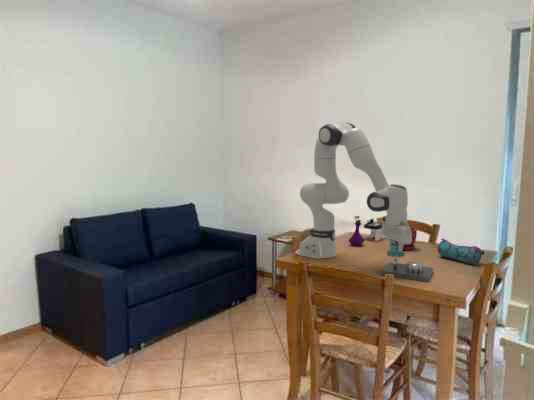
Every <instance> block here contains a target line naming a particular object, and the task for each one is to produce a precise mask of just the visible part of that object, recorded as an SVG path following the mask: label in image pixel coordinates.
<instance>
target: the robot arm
mask: <svg viewBox="0 0 534 400" xmlns="http://www.w3.org/2000/svg"><path fill="white" fill-rule="evenodd" d="M315 142H316V143H315V147H314V157H313V161H314V163H313V165H314V166H313V171H314V173H315V174H316V175H317V176H318V177H320V178H323V179H324V180H325V182H324V183H320V182H319V183H318V182H315V183H307V184H303V185H302V186H301V187H300V191H299V196H300V199H301V201H302V203H304V204H306V206H307V207H309V209H310V211H311V213H312V219H313V222H312V223H313V227H312V228H311V229H310V230H309V232H308V233H309V234H310V235H308V236H307V237H306V238H304V239H303V240H302V241H301V242H300V243H299V244H300V245H299V249H297V250H295V253H294V254H295V255H296V254H297V256H301V257H307V258H310V259H311V258H312V259H317V260H319V259H330V258H335V257H337V255H338V254H337V251H336V243H335V239H336V229H335V215H334V213H333V212H331V211H330V210H328V209H326V208H324V207H323V206H324V205H325V204H326V205H332V204H333V205H337V204H342V203H345V202H347V201H348V199H349V196H350V192H349V188H348V186H347V185H346V184H345V183H343V182H342V181H341V179H340V178H339V176H338V174H337V173H338V172H337V169H336V168H337V167H336V166H337V165H336V162H337V160H336V157H337V155H336V154H337V148H338V146H343V147H345V149H346V152H347V155H348V158H349V160H350V162H351V164H352V165H353V167H354V168H355V169H358V170H360V171H362V172H363V173H365V174H366V175H367V176H368V178H369V179H370V180H371V183H372V185H373V187H374V190H375V191H373V192H371V193H370V194H369V195H368V196H367V198H366V206H367V207H368V208H369V210H371V211H372V212H377V213H379V212H386V215H385V216H381V222H382V231H381V235H382V236H383V237H385V238H388V243H389V245H390V244H392V243H395V242H394V240H395V241H397V242H398V244H399V246H398V247H397V251H399V252H402V251H403V250H402V248H403V246H404V244H411V242H412V232H411V228H412V227H411V226H410V225H409V223H408V211H407V210H408V209H407V208H408V203H409V201H408V200H409V199H408V198H409V197H408V196H409V195H408V190H407V187H406V186H403V185H400V184H394V183H393V184H388V181H387V180H386V178H385V175H384V174H383V171H382V169H381V167H380V165H379V164H378V162H377V159H376V156H375V155H374V154H375V153H374V151H373V149H372V146H371V144H370V142H369V140H368V137H367V135H366V134H365V133H364V131H363V130H362V129H361V128H360V127H356V126H355V125H354V124H353V123H350V122H335V123H334V122H333V123H328V124H325V125H323V126H321V127H320V129H319V131H318V138H317V139H316V141H315ZM410 227H411V228H410Z"/></svg>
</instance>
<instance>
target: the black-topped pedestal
mask: <svg viewBox="0 0 534 400" xmlns="http://www.w3.org/2000/svg"><path fill="white" fill-rule="evenodd" d="M363 229H368V230H370V235H369V236H370V237H369V239H370V240H371V239H374V241H375V242H377V241H380V240H382V223H381V222H377V221H376V220H374V217H373V218H369V219H368V220H367V222H366V223H365V224H364V225H363Z"/></svg>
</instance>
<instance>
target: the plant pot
mask: <svg viewBox="0 0 534 400" xmlns="http://www.w3.org/2000/svg"><path fill="white" fill-rule="evenodd" d="M410 228H411V232H412V242H411V244H404V246H403V248H402V251H412V250H414V249H415V248H416V245H415V243H416V240H417V236H418V235H417V234H418V233H417V232H418V230H417V228H416V227H411V226H410ZM393 242H394V243H397V244H398V242H397V241H395V240H393Z"/></svg>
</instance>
